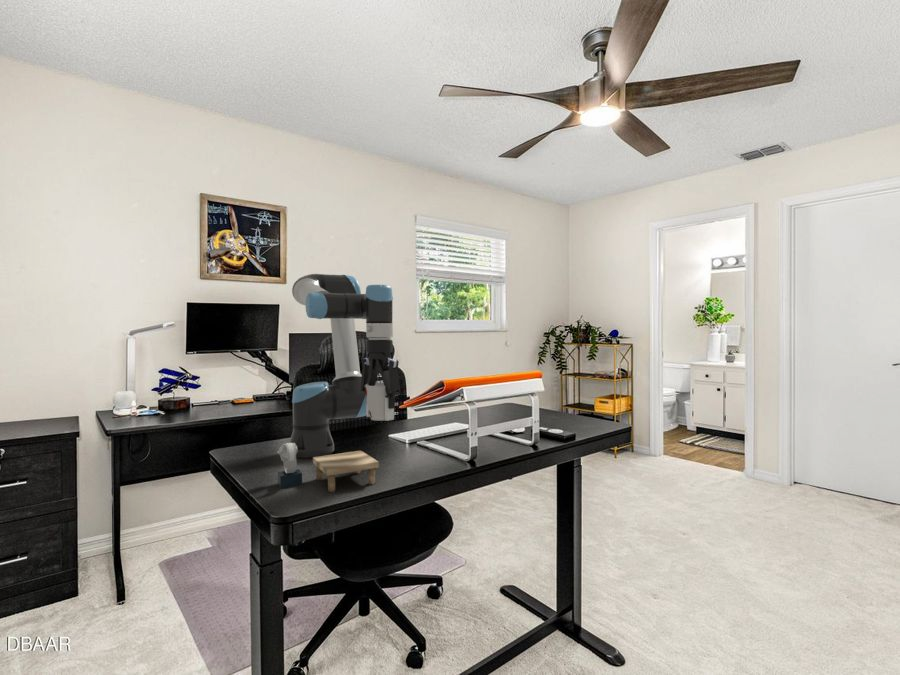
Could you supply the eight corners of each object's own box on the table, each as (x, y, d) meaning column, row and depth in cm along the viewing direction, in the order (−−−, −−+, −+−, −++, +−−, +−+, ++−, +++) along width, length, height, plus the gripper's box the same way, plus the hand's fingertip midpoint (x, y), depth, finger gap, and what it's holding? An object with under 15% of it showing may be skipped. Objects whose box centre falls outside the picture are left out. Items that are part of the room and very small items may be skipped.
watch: (297, 478, 134) (297, 439, 134) (303, 486, 127) (302, 445, 127) (276, 481, 131) (276, 441, 131) (281, 490, 124) (280, 448, 124)
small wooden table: (313, 478, 134) (312, 457, 133) (360, 470, 141) (360, 450, 141) (327, 493, 122) (327, 470, 121) (379, 484, 129) (378, 461, 129)
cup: (375, 415, 143) (375, 382, 143) (399, 417, 140) (399, 383, 140) (360, 420, 136) (360, 385, 136) (385, 422, 133) (385, 386, 132)
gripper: (347, 338, 142) (348, 415, 142) (393, 339, 128) (393, 424, 128) (367, 338, 147) (368, 412, 148) (413, 339, 133) (414, 420, 134)
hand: (380, 417), depth 138 cm, fingers closed on cup, 8 cm apart
